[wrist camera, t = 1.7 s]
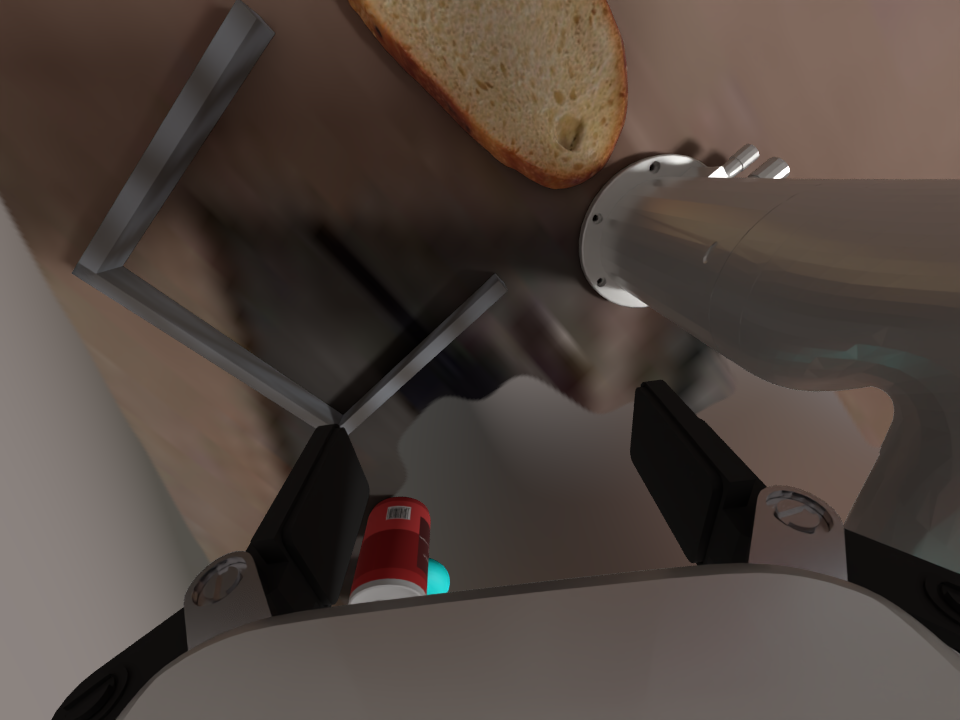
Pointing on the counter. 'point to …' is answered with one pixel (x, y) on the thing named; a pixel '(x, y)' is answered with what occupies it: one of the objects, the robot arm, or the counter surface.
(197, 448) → the counter surface
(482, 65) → the bread slice
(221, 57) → the corral
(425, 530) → the canned food
